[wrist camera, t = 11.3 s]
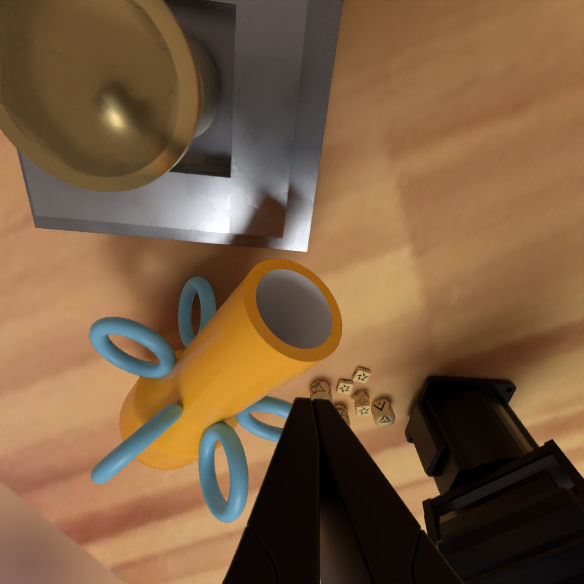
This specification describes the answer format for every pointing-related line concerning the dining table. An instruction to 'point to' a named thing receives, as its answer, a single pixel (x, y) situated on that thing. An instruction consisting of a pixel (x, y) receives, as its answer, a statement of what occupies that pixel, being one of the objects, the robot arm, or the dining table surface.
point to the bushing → (102, 89)
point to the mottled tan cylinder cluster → (356, 399)
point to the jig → (228, 137)
